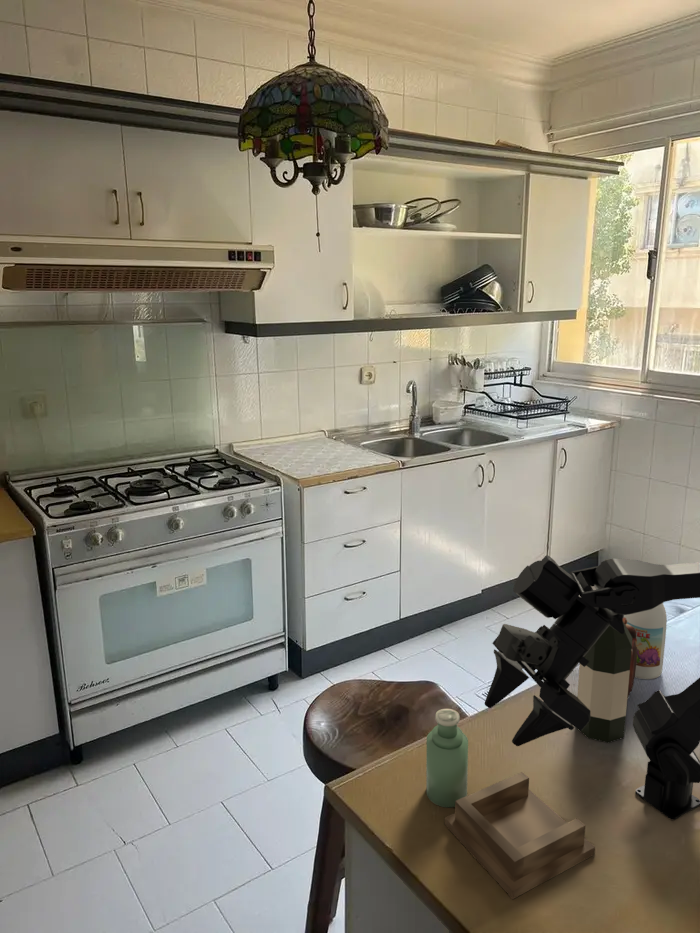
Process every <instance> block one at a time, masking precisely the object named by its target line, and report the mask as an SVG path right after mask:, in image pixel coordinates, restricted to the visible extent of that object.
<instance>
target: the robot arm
mask: <svg viewBox="0 0 700 933" xmlns="http://www.w3.org/2000/svg"><path fill="white" fill-rule="evenodd" d="M593 587H594V588H595V589H594V588H593ZM513 593H514V594H516V595H517V596H518V597H519V598H521V599H522V600H524V601H525V602H526V603H527V604H528V605H530V606H531V607H532V608H534V609H535V610H536V611H537V612H539V613H540V614H541V615H543V616H544V618H547V619H549V618H553V619H554V620H555V621H554V622H553V623H552V625H551V626H550V627H548V626H546V625H545V624H543V625H541V626H539V628H537V630H536V631H535V632H534V631H531V630H529V629H526V628H523V627H519V626H516V625H515V626H514V625H511V624H506V623H503V624H502V626H501V628H500V630H499V633H498V635H497V636H496V638H495V639H494V640H493V642H491V644H492V645H493V646H494V647H495V648H496V649H497V650H496V649H495V648H493V654H494V656H495V661H496V662H495V663H496V669H495V672H494V673H495V674H494V675H493V679H492V682H491V684H490V687H489V690H488V692H487V695H486V697H485V700H484V706H485V707H487V708H488V709H492V708H493V707H494V706H496V705H497V704H499V703H500V702H501V701H503V700H504V699H505V698H506V697H508V696H509V695H510V694H511V693H512V692H514V691H515V690H516V689H517V688H518V687H520V686H521V685H522V684H524V683H525V682H526V681H527V680H529V678H531V679H532V680H533V681H534V682H535V684H537V685H538V687H540V688H539V696H537V695H533V696H532V697H533V698H532V700H533V701H532V705H533V706H532V707H533V708H532V710H531V711H530V713H529V714H528V716H527V717H526V718H525V720H524V721H523V723H522V724H521V726H520V727H519V729H518V730H517V731H516V732H515V734H514V736H513V738H512V740H511V743H512V744H513V745H515V746H516V747H520V746H523V745H525V744H527V743H530V742H532V741H534V740H535V741H536V740H537V739H540V738H542V737H544V736H547V735H549V734H550V735H551V734H552V733H556V732H559V731H562V730H566V729H569V730H570V731H572V730H574V729H575V728H576V729H577V730H578V729H579V730H580V731H582V729H583V728H584V727H585V726H586V725H587V723H588V722H589V721H590V720H591V715H590V710H589V709H588V708H587V707H586V706H585V705H584V704H583V703H582V702H581V701H580V700H579V699H578V698H577V695H576V694H574V693H573V692H571V691H570V690H569V689H568V688H570V686H571V684H570V683H569V682H568V681H567V678H568V677H569V676H570V675H571V673H572V672H573V671H574V670H575V669H576V668H577V666H579V665H580V664H581V665H582V666H584V667H585V666H586V665H587V664H588V663H589V661H588V660H587V659H586V658H585V657H584V656H585V655H586V654H587V653H588V651H589V650H590V649H591V648H592V646H593V645H594V644H595V643H596V641H597V640H598V639H599V638H600V636H601V635H602V634H603V633H604V632H605V630H606V629H607V628H608V627H609V625H610V626H611V627H612V628H614V629H615V630H616V631H618V632H619V633H621V634H624V633H625V628H624V624H623V618H624V615H629V614H634V613H638V612H642V611H647V610H651V609H653V608H655V607H657V606H658V605H660V604H662V603H663V604H664V603H666V602H671V601H675V600H686V599H698V598H699V599H700V561H698V562H697V561H696V562H695V561H694V562H685V563H684V562H683V563H674V564H673V563H671V564H657V563H651V562H646V561H644V560H643V561H642V560H640V559H639V560H638V559H626V558H608V560H607V559H605V560H603V561H602V562H600V564H599V565H596V566H592V567H588V568H587V567H586V568H582V569H577V570H572V571H569V572H568V571H566V570H565V569H564V568H562V567H561V566H560V565H559V564H558V563H557V562H556V561H555V560H554V559H553V558H552V557H551V556H549V555H545V556H544V557H543V558H542V559H541V560H536V561H534V562H532V563H531V564H530V565H526V566H525V568H524V569H522V570H521V572H520V573H519V575H518V576H517V577H516V580H515V582H514V584H513ZM607 608H608V609H607ZM609 609H610V610H609ZM636 706H637V708H638V709H637V711H635V713H634V715H633V716H632V727H633V729H634V732H635V734H636V736H637V738H638V740H639V742H640V744H641V746H642V748H643V750H644V752H645V755H646V756H647V758H648V759H649V761H648V762H647V766H646V774H645V777H644V778H645V779H644V784H643V785H641V786H639V787H637V788H636V789H635V792H634V793H635V794H636V795H637V796H638V797H640V798H641V799H642V800H643V801H645V802H646V803H648V804H649V805H650V806H651V807H653V808H654V809H656V810H657V811H658V812H660V813H661V814H663V815H664V816H665V817H667V818H668V819H669V820H672V821H675V820H677V819H679V818H681V817H682V816H685V815H686V814H688V813H690V812H692V811H693V810H695V809H697V808H699V807H700V799H699V798H698V797H697V796H695V795H694V794H693V789H694V783H695V784H700V759H699V757H698V756H697V754H696V752H695V750H696V749H697V748H698V746H699V745H700V677H698V678H697V679H696V680H695V681H694V682H692V683H690V685H689V686H687V687H686V688H685V689H684V690H683V691H681V692H679V693H676V694H671V695H670V694H669V695H665V694H664V693H663V692H662V691H661V690H660V689H658V690H655V691H654V692H653V693H652V694H651V695H650V696H649V698H648V699H646V700H644V701H643V702H641V703H638V704H637V705H636ZM579 730H578V731H579ZM580 731H579V732H580Z"/></svg>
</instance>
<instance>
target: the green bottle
mask: <svg viewBox="0 0 700 933" xmlns="http://www.w3.org/2000/svg"><path fill="white" fill-rule="evenodd" d="M435 721H436V723H437V725H435V726H434V727H433V728H432V730H431V731H430V732H428V734H427V735H426V758H425V759H426V764H425V765H426V766H425V767H426V775H425V776H426V780H425V781H426V783H425V784H426V785H425V786H426V790H425V793H426V797H427V798H428V800H430V802H431V803H433V804H435V805H436V806H439V807H442V808H455V801H456V800H459V799H461V798H463V797H465V796H468V775H469V774H468V770H469V769H468V766H469V739H468V736H467V735H466V734H465V733H464V732H463V731H462V729H461V728H460V727H459V726H458V724H459V723H460V714H459V712H458V711H457V710H455V709H451V708H442V709H439V710H437V711H436V713H435Z"/></svg>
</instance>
